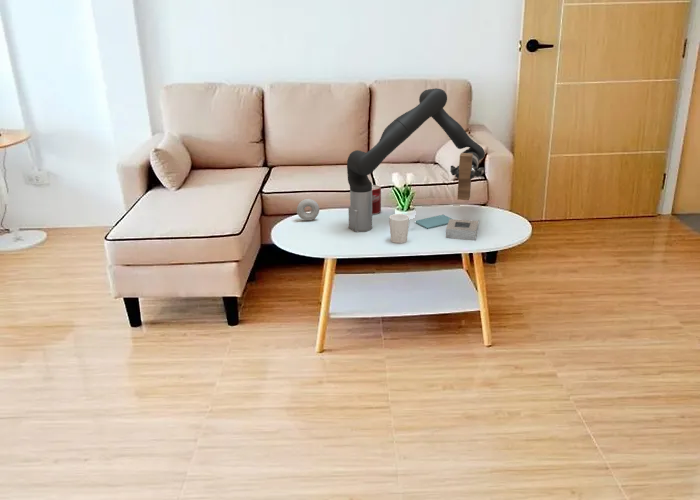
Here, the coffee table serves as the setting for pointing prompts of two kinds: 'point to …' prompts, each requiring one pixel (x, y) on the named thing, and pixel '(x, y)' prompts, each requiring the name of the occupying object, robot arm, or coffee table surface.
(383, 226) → the coffee table surface
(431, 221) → the slate mat
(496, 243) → the coffee table surface
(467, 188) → the walnut post
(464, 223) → the socket block
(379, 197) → the soda can
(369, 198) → the robot arm
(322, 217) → the coffee table surface
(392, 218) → the beige cup
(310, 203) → the donut
